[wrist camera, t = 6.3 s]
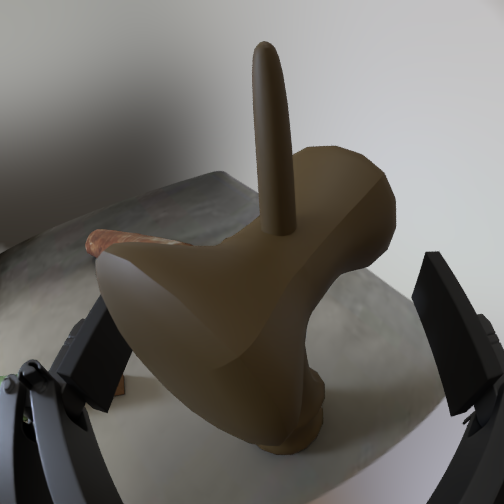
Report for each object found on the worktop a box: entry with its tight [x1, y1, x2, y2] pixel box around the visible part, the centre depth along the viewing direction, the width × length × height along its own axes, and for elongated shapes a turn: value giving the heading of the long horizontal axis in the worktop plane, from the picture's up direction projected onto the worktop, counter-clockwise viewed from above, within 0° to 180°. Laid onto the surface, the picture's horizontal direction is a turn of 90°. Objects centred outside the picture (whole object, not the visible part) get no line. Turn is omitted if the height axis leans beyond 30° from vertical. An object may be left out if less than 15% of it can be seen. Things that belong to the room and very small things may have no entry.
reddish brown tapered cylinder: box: [85, 229, 193, 258], centre depth 32 cm, size 6×19×6 cm, turn 57°
